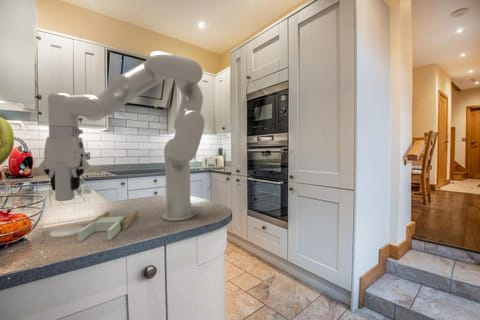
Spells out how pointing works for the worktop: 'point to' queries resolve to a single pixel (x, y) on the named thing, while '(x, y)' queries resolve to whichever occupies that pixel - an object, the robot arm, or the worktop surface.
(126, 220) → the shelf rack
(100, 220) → the sliding holder
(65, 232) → the ceramic coaster
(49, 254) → the worktop surface
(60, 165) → the beverage can
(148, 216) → the worktop surface
